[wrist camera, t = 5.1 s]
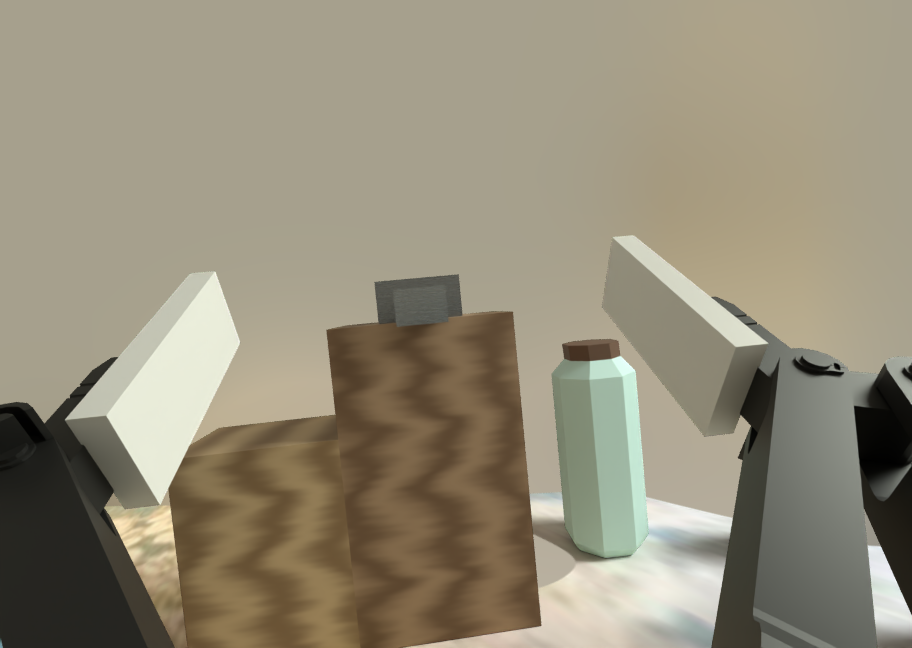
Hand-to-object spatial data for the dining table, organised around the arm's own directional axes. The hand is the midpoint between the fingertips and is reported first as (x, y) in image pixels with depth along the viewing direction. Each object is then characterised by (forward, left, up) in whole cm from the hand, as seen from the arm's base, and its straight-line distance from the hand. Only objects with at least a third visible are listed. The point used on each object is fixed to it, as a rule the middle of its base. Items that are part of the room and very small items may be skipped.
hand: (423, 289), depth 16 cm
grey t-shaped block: (0, +26, -2) cm, 26 cm away
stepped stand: (-8, +32, -32) cm, 45 cm away
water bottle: (+20, +39, -32) cm, 55 cm away
